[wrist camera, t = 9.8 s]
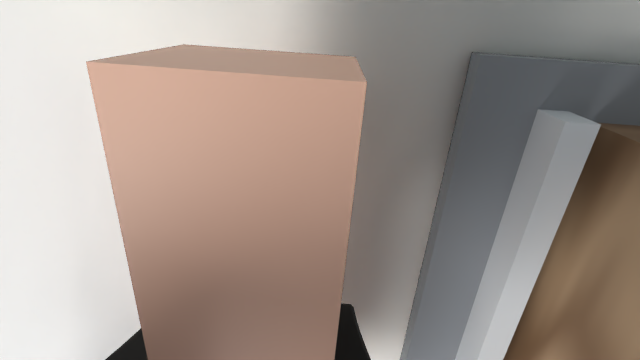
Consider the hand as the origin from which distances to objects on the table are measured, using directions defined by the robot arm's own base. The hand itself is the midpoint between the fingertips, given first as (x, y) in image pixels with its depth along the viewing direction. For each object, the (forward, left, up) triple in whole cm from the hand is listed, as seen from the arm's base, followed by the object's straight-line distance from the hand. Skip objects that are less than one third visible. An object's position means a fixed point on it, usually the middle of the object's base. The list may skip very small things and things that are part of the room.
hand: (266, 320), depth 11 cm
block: (0, 0, -2) cm, 2 cm away
